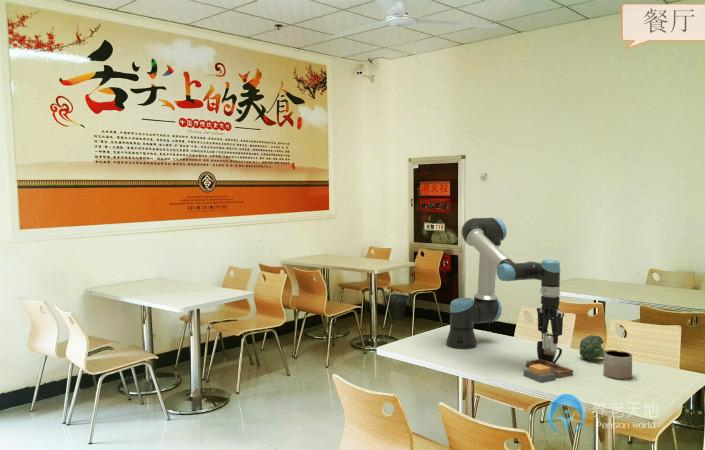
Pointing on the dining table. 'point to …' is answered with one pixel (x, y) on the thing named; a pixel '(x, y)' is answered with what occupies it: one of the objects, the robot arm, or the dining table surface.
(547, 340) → the cell
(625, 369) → the planter
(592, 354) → the vegetable
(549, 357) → the mug
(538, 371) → the orange square block
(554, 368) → the wooden tray
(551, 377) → the frame
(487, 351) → the dining table surface
